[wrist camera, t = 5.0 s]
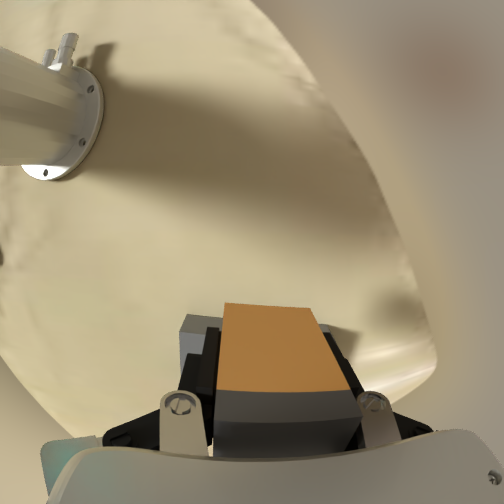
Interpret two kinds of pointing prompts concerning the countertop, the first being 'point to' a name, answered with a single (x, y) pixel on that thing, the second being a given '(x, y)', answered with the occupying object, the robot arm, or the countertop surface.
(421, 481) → the robot arm
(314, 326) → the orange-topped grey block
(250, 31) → the countertop surface
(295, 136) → the countertop surface
